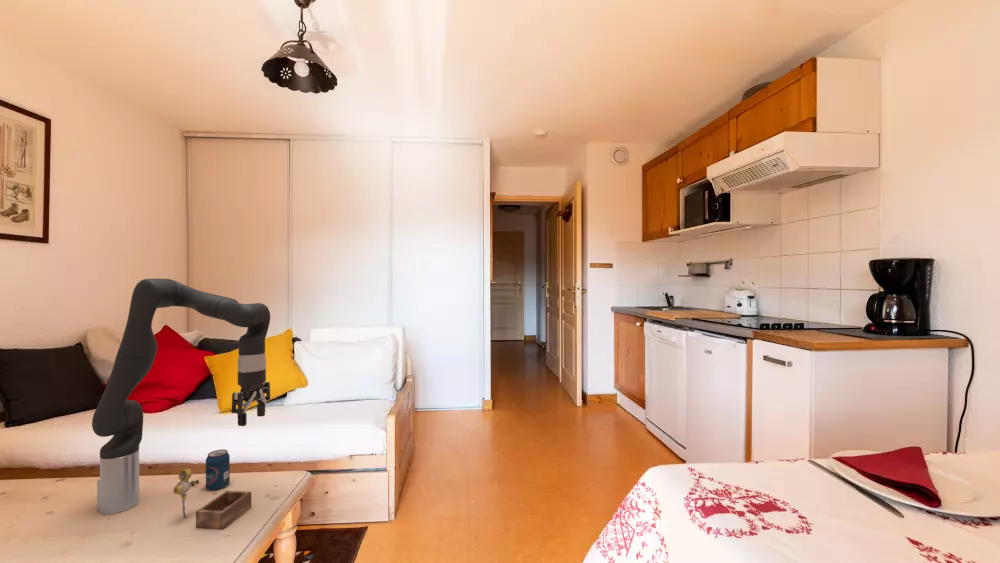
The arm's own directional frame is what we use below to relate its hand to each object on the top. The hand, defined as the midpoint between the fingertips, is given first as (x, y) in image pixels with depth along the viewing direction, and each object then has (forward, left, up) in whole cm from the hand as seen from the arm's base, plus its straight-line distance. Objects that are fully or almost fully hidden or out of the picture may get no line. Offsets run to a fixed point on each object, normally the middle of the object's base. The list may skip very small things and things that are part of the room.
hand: (251, 420), depth 127 cm
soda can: (-24, +15, -29) cm, 41 cm away
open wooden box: (-7, -2, -29) cm, 30 cm away
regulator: (-19, -3, -29) cm, 35 cm away
